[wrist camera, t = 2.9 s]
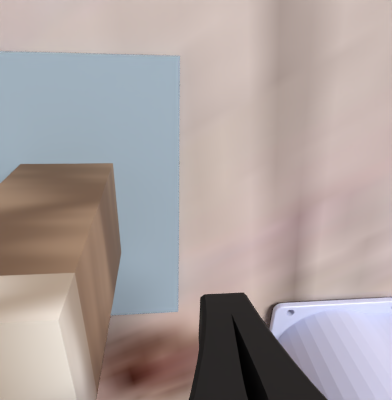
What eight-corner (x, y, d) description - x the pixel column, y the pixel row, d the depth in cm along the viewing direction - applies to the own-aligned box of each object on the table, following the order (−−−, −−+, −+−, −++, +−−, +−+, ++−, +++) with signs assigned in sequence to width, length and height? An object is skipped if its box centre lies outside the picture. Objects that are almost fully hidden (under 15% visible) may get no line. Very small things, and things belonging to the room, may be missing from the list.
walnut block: (112, 163, 15) (58, 320, 7) (121, 252, 17) (87, 446, 9) (20, 163, 14) (-152, 331, 6) (41, 255, 17) (-65, 461, 9)
